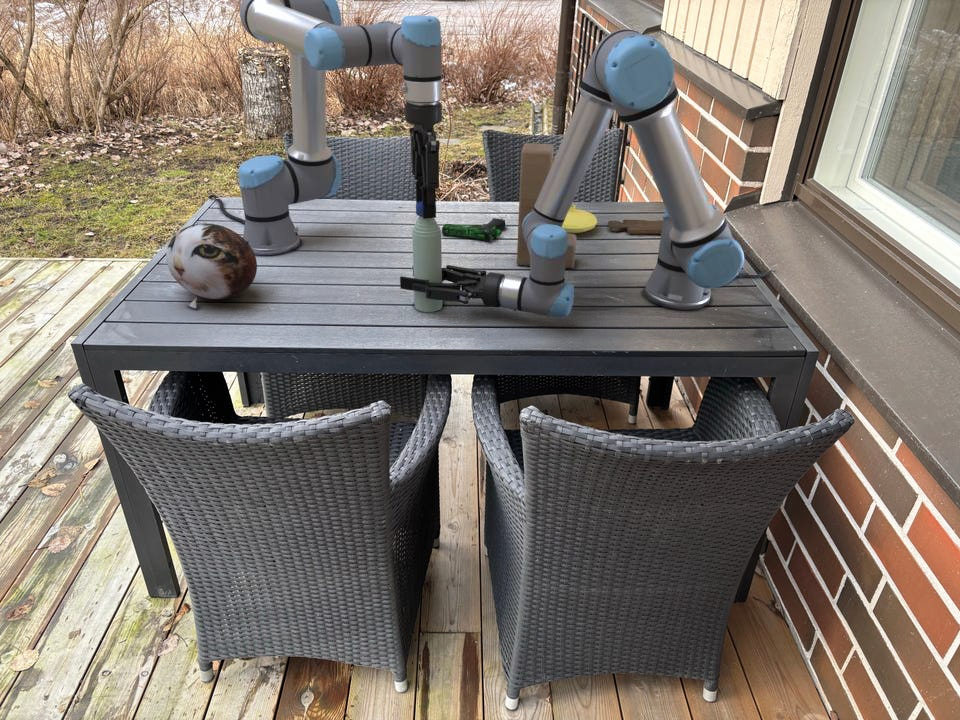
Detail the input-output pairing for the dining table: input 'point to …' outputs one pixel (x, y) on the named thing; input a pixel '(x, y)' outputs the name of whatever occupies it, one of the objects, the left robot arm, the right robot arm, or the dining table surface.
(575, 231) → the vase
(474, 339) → the dining table surface
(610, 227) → the wooden paddle board
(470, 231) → the handgun
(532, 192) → the decorative block
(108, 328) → the dining table surface
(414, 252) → the bottle
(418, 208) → the cap
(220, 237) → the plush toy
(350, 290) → the dining table surface
